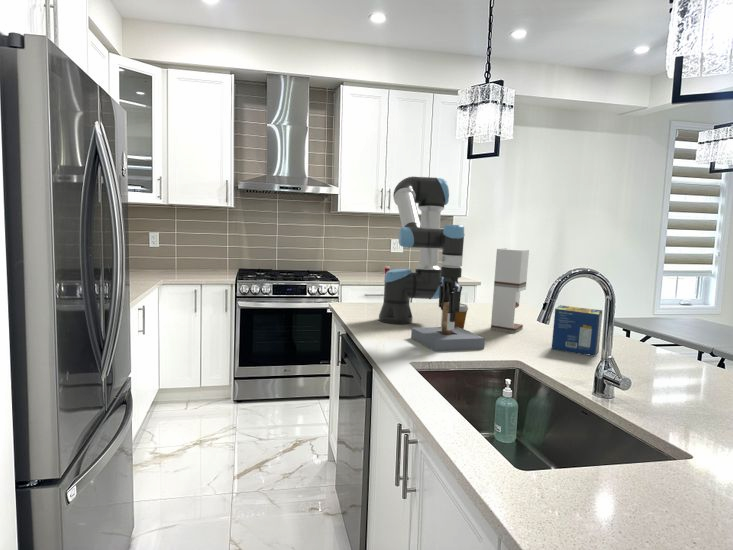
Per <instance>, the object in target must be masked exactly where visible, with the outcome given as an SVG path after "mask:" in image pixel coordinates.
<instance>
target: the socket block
mask: <svg viewBox="0 0 733 550" xmlns="http://www.w3.org/2000/svg"><path fill="white" fill-rule="evenodd" d="M410 339H412V340H414V341H415V342H417V343H419V344H421V345H423V346H425V347H427V348H428V349H431V350H432V351H433V352H446V351H447V352H449V351H468V350H484V349H485V344H486V343H485V340H486V338H485V337H482V336H480V335H478V334H476V333H474V332H471V331H469V330H467V329H462V328H460V327H454V330H453V333H452V335H443V334H442V328H441V326H431V327H426V326H425V327H424V326H423V327H411V335H410Z"/></svg>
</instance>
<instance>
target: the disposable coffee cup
mask: <svg viewBox="0 0 733 550" xmlns="http://www.w3.org/2000/svg"><path fill="white" fill-rule="evenodd" d="M468 310H469V308H468V304H465V303H461V302H460V308H459V312H456V313H455V325H454V327H460V328H462V329H464V328H465V324H466V318H467V313H468ZM464 330H465V329H464Z"/></svg>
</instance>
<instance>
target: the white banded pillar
mask: <svg viewBox="0 0 733 550" xmlns="http://www.w3.org/2000/svg"><path fill="white" fill-rule="evenodd" d="M529 255H530V249H523V250H522V249H508V248H506V247H505V248H496V255H495V269H494V283H493V296H492V307H491V308H492V309H491V319H490V320H491V323H490V330H491V331H498V332H504V333H509V334H517V333H519V332H521V331H522V330H523V328H524V324H520V323H515V316H516V315H515V314H516V309H517V308H519V307H520V301H521V292H523V291H525V290H527V280H528V270H529V269H528V268H529V258H530V257H529Z"/></svg>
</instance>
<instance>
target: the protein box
mask: <svg viewBox="0 0 733 550" xmlns="http://www.w3.org/2000/svg"><path fill="white" fill-rule="evenodd" d="M602 318H603V310H602V309H595V308H587V307H586V308H585V307H578V306H567V305H561V304H560V305H558V306H557V307H556V308H554V317H553V319H554V320H553V330H552V340H551V341H552V342H551V347H550V348H551V350H556V351H561V352H566V351H567V352H568V353H572V352H573V354H578V353H580V354H579V355H584V354H590V355H595V354H596V353H597V354H598V352H599V351H600V343H601V342H600V341H601V339H600V338H601V328H602ZM597 354H596V355H597ZM590 355H589V356H590ZM596 355H595V356H596Z"/></svg>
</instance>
